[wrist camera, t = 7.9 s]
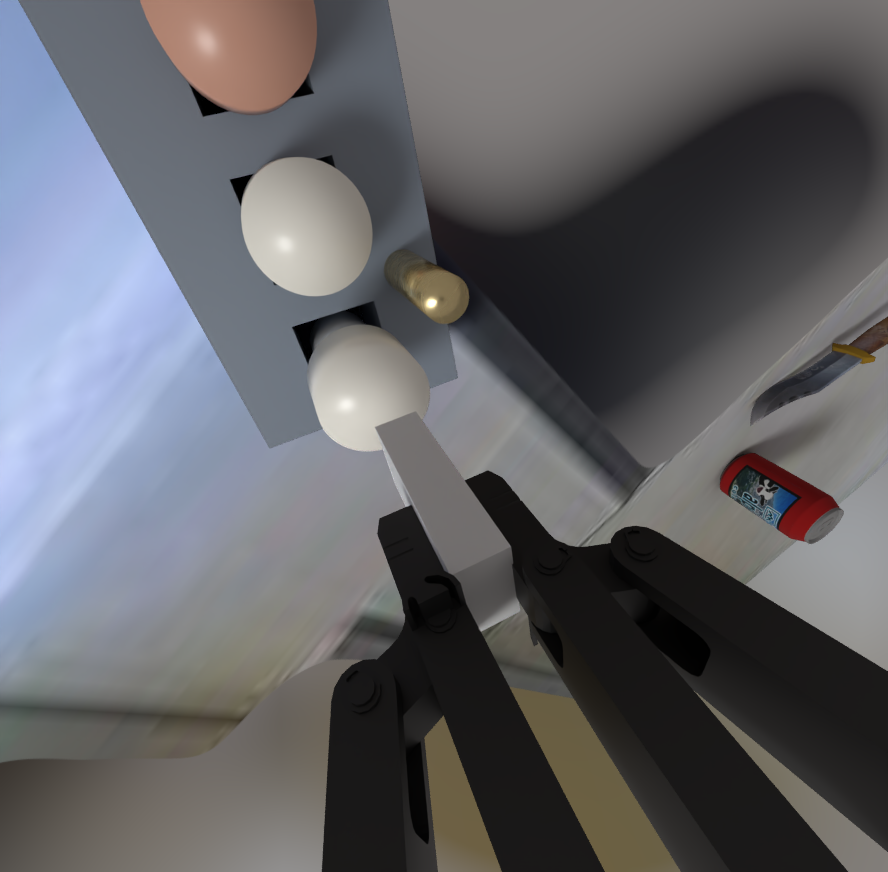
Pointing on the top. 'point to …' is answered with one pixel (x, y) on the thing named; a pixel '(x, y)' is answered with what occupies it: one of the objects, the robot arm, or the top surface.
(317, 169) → the knob
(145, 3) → the knob
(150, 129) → the mount
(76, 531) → the top surface
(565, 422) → the top surface
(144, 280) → the top surface
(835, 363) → the knife
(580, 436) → the top surface
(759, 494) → the beverage can
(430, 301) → the pot post
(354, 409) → the knob
